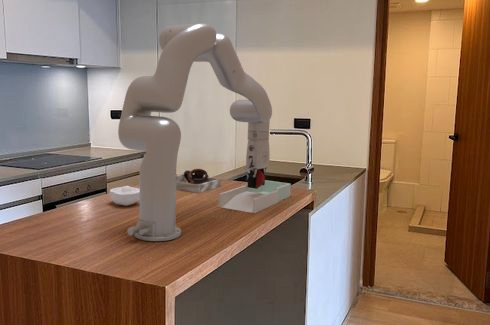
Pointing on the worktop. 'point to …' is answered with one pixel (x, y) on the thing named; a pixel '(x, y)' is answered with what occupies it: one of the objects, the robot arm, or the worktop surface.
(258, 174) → the red round fruit
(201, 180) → the pottery mug
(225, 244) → the worktop surface
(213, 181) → the mug stand
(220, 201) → the white piece
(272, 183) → the tray
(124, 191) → the cell model
